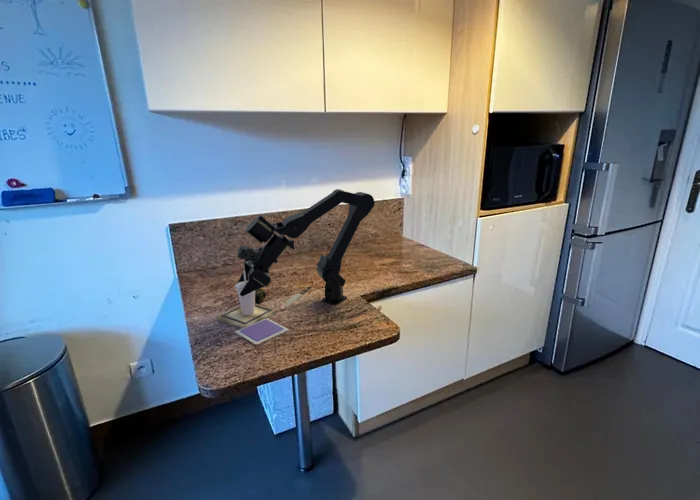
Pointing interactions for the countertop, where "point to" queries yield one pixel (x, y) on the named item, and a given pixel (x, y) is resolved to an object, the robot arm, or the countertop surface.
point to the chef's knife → (296, 297)
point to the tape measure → (259, 295)
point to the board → (246, 316)
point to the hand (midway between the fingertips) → (239, 290)
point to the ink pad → (261, 331)
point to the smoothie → (246, 298)
